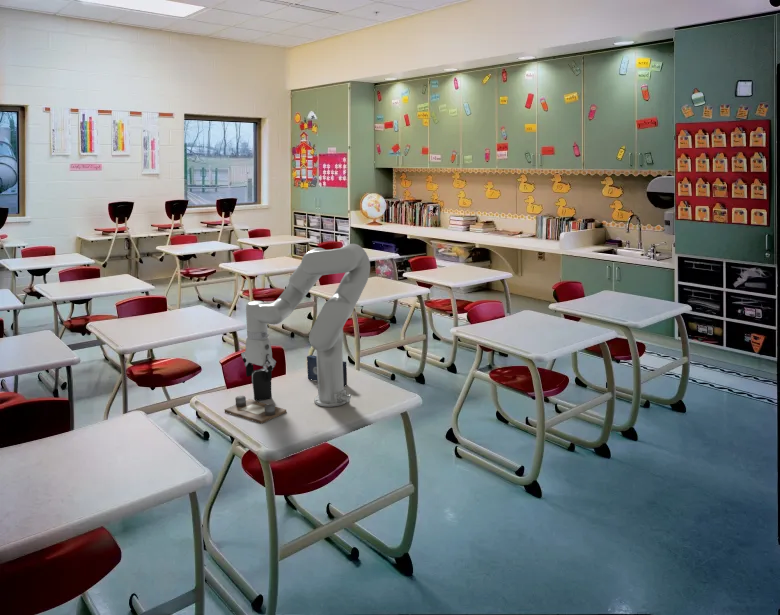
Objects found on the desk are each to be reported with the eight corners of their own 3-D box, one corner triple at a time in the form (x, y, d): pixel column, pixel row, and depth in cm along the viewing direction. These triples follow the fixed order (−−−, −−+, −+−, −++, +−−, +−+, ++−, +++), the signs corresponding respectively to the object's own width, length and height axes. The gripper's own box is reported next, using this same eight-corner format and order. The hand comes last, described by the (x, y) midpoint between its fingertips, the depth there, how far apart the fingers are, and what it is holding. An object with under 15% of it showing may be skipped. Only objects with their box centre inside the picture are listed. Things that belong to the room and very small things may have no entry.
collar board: (286, 412, 229) (285, 401, 228) (261, 423, 219) (261, 412, 218) (249, 401, 239) (249, 391, 238) (224, 412, 230) (223, 401, 229)
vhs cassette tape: (347, 385, 255) (346, 361, 253) (343, 387, 253) (342, 363, 250) (312, 377, 265) (311, 354, 263) (307, 379, 262) (306, 356, 260)
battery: (270, 395, 245) (268, 366, 243) (272, 398, 242) (270, 369, 239) (252, 398, 243) (250, 369, 240) (254, 401, 239) (252, 372, 237)
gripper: (281, 336, 235) (282, 380, 239) (248, 328, 245) (250, 371, 249) (266, 340, 229) (267, 386, 233) (233, 332, 239) (235, 376, 243)
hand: (258, 378), depth 241 cm, fingers open, 9 cm apart
